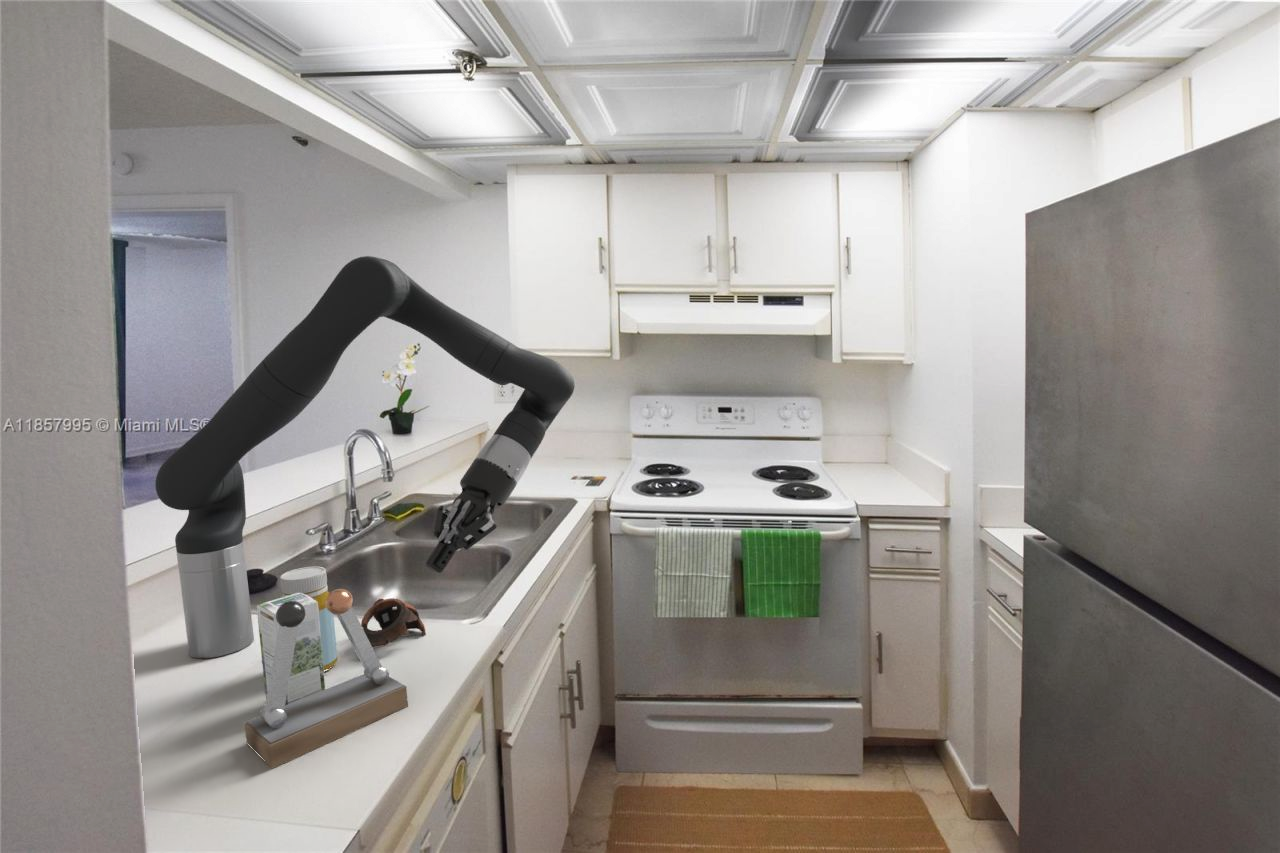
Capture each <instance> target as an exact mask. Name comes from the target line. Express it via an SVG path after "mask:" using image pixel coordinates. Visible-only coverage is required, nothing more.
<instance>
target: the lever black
mask: <svg viewBox="0 0 1280 853" xmlns="http://www.w3.org/2000/svg"><path fill="white" fill-rule="evenodd" d="M304 618H305V608H304V606H303V605H302V604H301V603H299V602H297V601H288V602H285V603H284V604H282V605H281V606H280V607H279V608H278V610H277V612H276V620H277V622H278V624H279V630H278V635H277V641H276V647H275V653H274V658H273V664H272V670H271V676H270V682H269V687H268V693H267V699H266V698H265V704H264V705H263V706H262V707H261V709H260V710H259V716H260V717H261V718H262V719H263V720H264V721H265V722H266V723H267V724H268V725H270V726H271V727H272V728H279V727H281V726H282V725H284V723H285V722H286V720H287V714H286V712H285V711H284V708H285V702H286V696H287V690H288V685H289V679H290V673H291V667H292V661H293V655H294V649H295V643H296V638H297V632H298V626H299V624H300V623H301V622H302V621H303V620H304Z"/></svg>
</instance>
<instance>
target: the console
mask: <svg viewBox="0 0 1280 853" xmlns="http://www.w3.org/2000/svg"><path fill="white" fill-rule="evenodd" d="M407 707H409V702H408V690H407V686H406V685H404V684H403V683H401V682H399V681H398V680H396V679H394V678H392V677H391V676H389V677H388V680H387V681H386V682H385V683H384V684H381V685H379V684H376V683H375V682H373V681H371V680H370V679H368V678H366V677H365V676H364V673H363V674H360V675H358V676H355V677H353V678H351V679H348V680H345V681H343V682H341V683H338V684H335V685H332V686H331V687H328V688H325V690H323V691H320V692H318V693H315V694H313V695H310V696H308V697H305V698H303V699H300V700H298V701H295V702H293V703H290V704H288V705H285V708H284V711H285V712H286V714H287V720H286V722H285V723H284V725H282V726H281V727H279V728H272V727H271V726H270V725H268V724H267V723H266V722H265V721H264V720H263V719H262V718H261V717H260V715H258V716H256V717H253V718H251V719H248V720H246V721H245V722H244V732H245V737H246V738H245V739H246V744H247V743H248V744H249V745H250V746H251V747H252V748H253V749H254V750H255V751H256V752H257V753H258V754H259V755H260V756H261V757H262V758H263V759H264V760H265V761H264V760H263V759H262V758H261V757H260V758H261V759H262V760H263V761H264V763H265V764H267V765H268V767H269V768H270V769H272V768H273V769H274V768H275V769H276V768H277V767H279V766H282V765H283V763H284V764H286V763H288V762H290V761H292V760H295V759H297V758H298V757H301V756H304V755H305V754H308V753H309V752H312V751H314V750H316V749H318V748H321V747H322V746H323V747H324V746H325V745H327V744H329V743H331V742H333V741H336V740H338V739H340V738H342V737H344V736H346V735H348V734H351V733H353V732H355V731H357V730H360V729H361V728H362V729H363V728H364V727H367V726H368V725H370V724H373V723H375V722H378V721H380V720H382V719H384V718H386V717H388V716H390V715H392V714H394V713H396V712H397V713H398V711H401V710H403V709H406V708H407Z"/></svg>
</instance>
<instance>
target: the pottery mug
mask: <svg viewBox="0 0 1280 853" xmlns="http://www.w3.org/2000/svg"><path fill="white" fill-rule="evenodd" d="M373 617H374V619H375V620H376V622H378V625H379V628H381V629H377V630H372V629H369V628H368V625H369V622H370V621H371V619H372V618H373ZM360 624H361V626H362V628H363V630H364V632H365V634H366V636H367V638H368V640H369V642H370V644H371V646H372V648H373V649H374V648H377V647H378V648H379V647H383V646H387V645H388V644H389V643H392V642H395V641H396V640H397V639H399V638H400V637H402V636H410V633H409V630H419V631H420V632H421V633H422V635H423V636H426V635H427V634H426V628H425V624H424V623H423V621H422V620H421V618H420V615H419V612H418V610H417V608H415V606H413V605H412V604H409V603H407V602H403V601H402V600H401V599H399V598H393V597H392V598H386V599H384V598H378V600H376V601H375V602H374V603H373V605H372V606H371V607H370V608H369V609H368V610H367V611H366V612H365V613H364V615H363V617H362V620H361V623H360Z"/></svg>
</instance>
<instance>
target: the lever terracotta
mask: <svg viewBox="0 0 1280 853" xmlns="http://www.w3.org/2000/svg"><path fill="white" fill-rule="evenodd" d="M353 599H354V598H353V595H352V593H351V592H350V591H349V590H347V589H344V588H336V589H334V590H332V591H331V592H329V595H328V596H327V598H326V608H327V609H328V611H329V612H331V613H332V614H333V615H336V617H337V619H338V621H339V622H340V624H341V626H342V628H343V630H344V632H345V634H346V636H347V638H348V640H349V642H350V643H351V645H352V647H353V650H354V651H355V653H356V655H357V657H358V660H359V661H360V663H361V665H362V667H363V668H364V670H363V674H364V676H365V677H366V678H368V679H370V680H371V681H373V682H375V683H376V684H379V685H381V684H384V683H385V682H386V681H387V680H388V677H390V673H389V670H387V669H386V668H384V667H383V665H382V664H381V662H380V659H379V658H378V656H377V654H376V652H375V650H374V647H373V648H372V646H371V644H370V642H369V640H368V638H367V636H366V634H365V632H364V630H363V627H362V626H361V623H360V620H359V619H358V616H357V615H356V613H355V611H354V608H353V607H352V606H353V603H354V602H353V601H354V600H353Z"/></svg>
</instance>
